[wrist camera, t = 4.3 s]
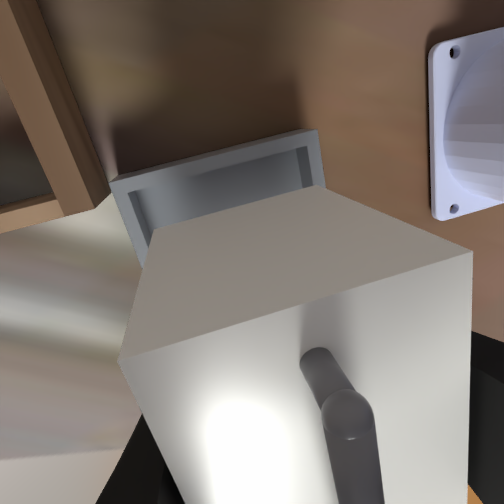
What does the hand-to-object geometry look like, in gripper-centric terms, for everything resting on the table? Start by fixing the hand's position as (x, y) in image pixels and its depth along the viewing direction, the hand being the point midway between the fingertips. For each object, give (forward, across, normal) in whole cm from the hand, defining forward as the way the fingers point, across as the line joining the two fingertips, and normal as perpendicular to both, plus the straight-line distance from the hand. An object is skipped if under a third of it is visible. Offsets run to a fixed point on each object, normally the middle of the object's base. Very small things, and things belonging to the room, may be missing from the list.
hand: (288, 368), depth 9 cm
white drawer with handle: (+3, 0, 0) cm, 3 cm away
